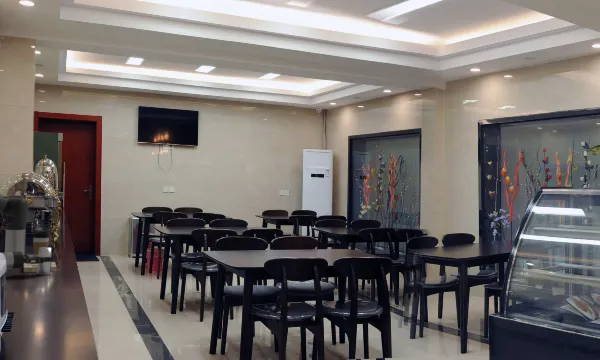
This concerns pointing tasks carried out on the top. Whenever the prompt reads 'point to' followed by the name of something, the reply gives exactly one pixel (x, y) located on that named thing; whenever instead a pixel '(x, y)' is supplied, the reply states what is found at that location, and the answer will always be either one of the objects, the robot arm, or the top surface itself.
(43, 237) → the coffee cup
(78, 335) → the top surface
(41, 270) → the grey cylinder
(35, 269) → the mounting board
